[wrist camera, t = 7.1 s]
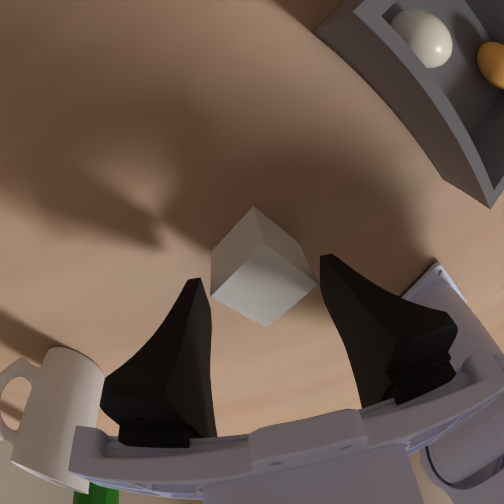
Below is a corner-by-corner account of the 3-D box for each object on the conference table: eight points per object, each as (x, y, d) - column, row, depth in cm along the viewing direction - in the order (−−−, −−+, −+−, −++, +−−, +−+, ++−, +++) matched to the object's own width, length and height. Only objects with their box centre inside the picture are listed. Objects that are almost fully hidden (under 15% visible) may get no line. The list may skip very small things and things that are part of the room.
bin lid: (389, 226, 17) (429, 267, 13) (259, 339, 22) (267, 390, 17) (244, 76, 12) (256, 67, 8) (108, 253, 16) (82, 305, 12)
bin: (510, 76, 10) (554, 88, 6) (443, 179, 14) (490, 209, 11) (415, -56, 5) (458, -73, 1) (312, 32, 10) (352, 11, 6)
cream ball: (433, 47, 9) (473, 47, 7) (407, 79, 11) (447, 82, 8) (396, 4, 8) (433, -6, 5) (366, 34, 9) (403, 25, 7)
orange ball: (498, 70, 10) (532, 77, 7) (484, 94, 11) (519, 103, 8) (477, 32, 8) (512, 34, 6) (461, 55, 9) (499, 59, 7)
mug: (120, 377, 22) (104, 497, 12) (86, 390, 23) (68, 489, 13) (33, 309, 17) (-21, 437, 7) (11, 334, 18) (-30, 436, 8)
